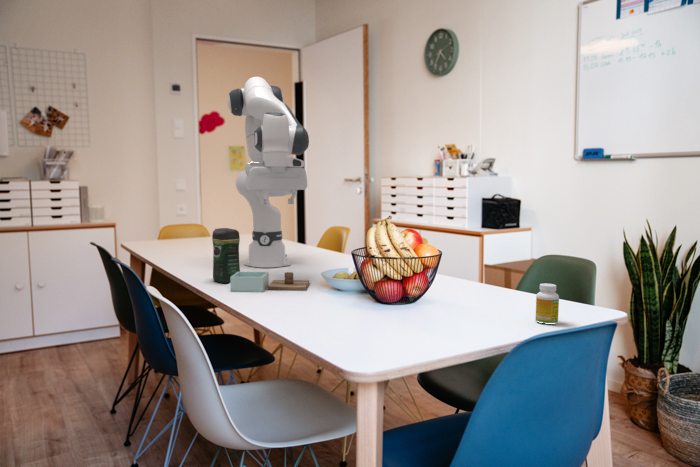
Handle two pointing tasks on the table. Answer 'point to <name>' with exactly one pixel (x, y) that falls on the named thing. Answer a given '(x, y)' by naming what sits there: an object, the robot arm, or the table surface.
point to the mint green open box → (249, 281)
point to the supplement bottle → (547, 304)
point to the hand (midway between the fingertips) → (277, 204)
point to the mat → (292, 290)
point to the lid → (288, 283)
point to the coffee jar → (225, 254)
